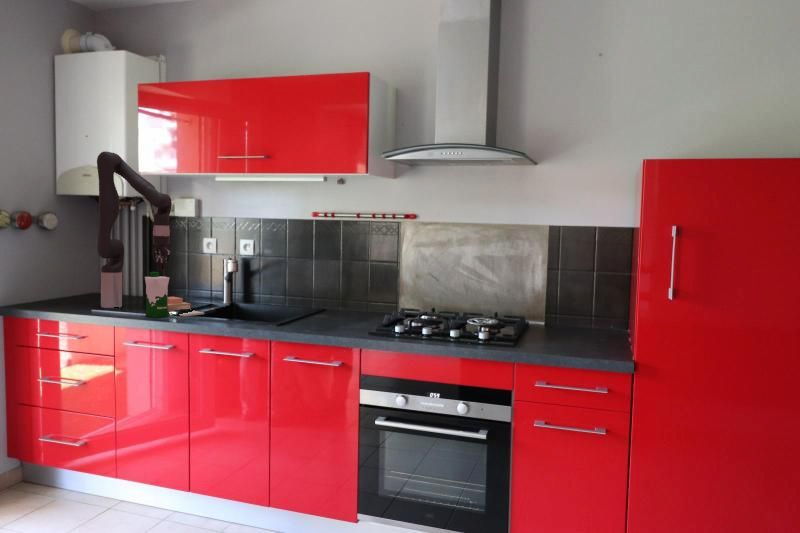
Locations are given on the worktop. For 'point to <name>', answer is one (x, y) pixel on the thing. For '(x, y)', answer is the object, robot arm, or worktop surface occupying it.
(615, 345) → the worktop surface
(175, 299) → the tile
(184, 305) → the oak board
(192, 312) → the mat
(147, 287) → the milk carton
